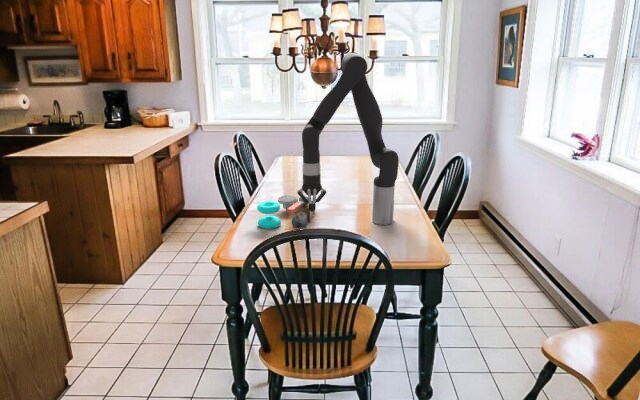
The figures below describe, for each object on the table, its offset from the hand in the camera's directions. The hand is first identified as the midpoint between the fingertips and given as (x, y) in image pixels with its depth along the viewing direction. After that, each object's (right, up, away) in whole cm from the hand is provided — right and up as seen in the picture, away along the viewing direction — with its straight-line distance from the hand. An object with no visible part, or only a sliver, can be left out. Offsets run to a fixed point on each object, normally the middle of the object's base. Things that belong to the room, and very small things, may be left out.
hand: (312, 211), depth 203 cm
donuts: (-19, -7, +4) cm, 20 cm away
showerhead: (-12, -1, +21) cm, 24 cm away
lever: (-6, +2, +3) cm, 7 cm away
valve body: (-4, -4, +11) cm, 12 cm away
